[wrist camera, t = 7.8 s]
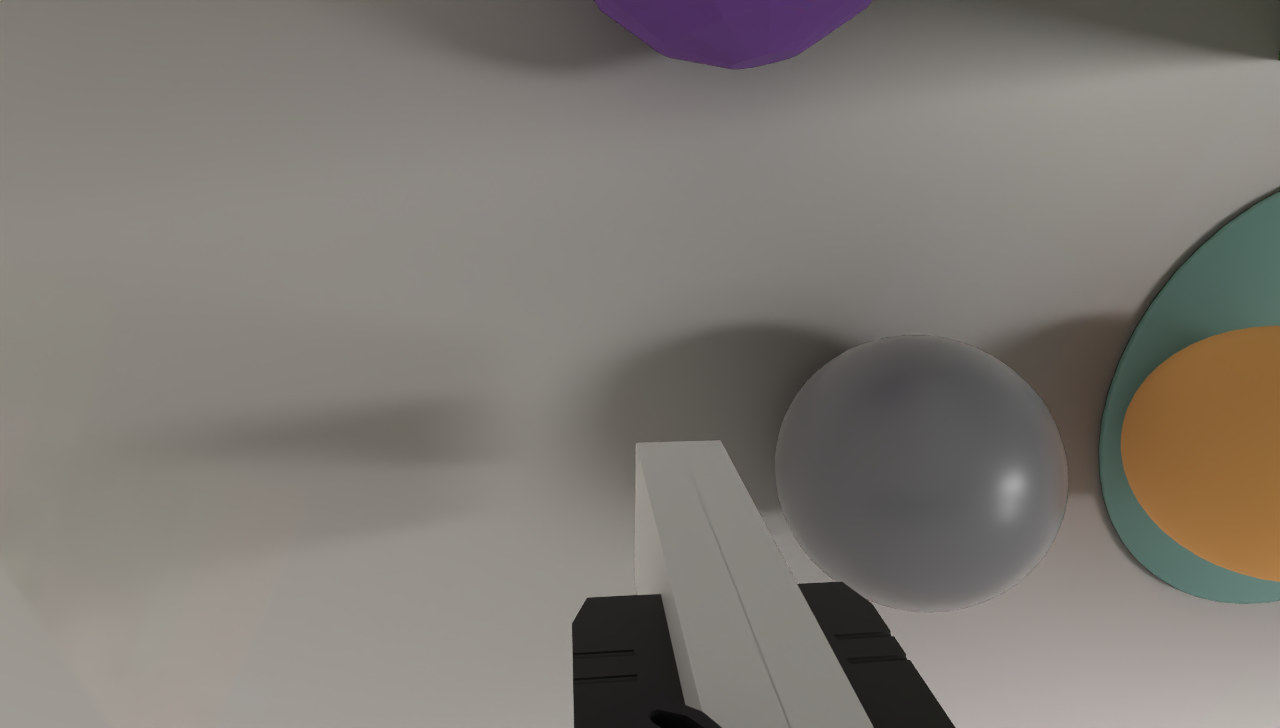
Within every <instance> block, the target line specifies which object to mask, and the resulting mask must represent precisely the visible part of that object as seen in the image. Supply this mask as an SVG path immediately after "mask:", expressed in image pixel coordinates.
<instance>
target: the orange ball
mask: <svg viewBox="0 0 1280 728" xmlns="http://www.w3.org/2000/svg"><path fill="white" fill-rule="evenodd" d="M1121 456H1122V462H1123V467H1124V471H1125V474H1126V477H1127V480H1128V482H1129V485H1130V487H1131V489H1132V491H1133V493H1134V495H1135V497H1136V499H1137V500H1138V502H1139V504H1140V505H1141V506H1142V508H1143V509H1144V510H1145V512H1146V513H1147V514H1148V516H1149V517H1150V518H1151V519H1152V520H1153V521H1154V522H1155V523H1156V524H1157V525H1158V527H1159V528H1160V529H1161V530H1162V531H1163V532H1165V533H1166V534H1167V535H1168V536H1170V537H1171V538H1172V539H1173V540H1175V541H1176V542H1177V543H1178V544H1180V545H1181V546H1183V547H1184V548H1186V549H1187V550H1189V551H1191V552H1192V553H1194V554H1195V555H1197V556H1199V557H1201V558H1203V559H1205V560H1207V561H1209V562H1211V563H1213V564H1215V565H1217V566H1220V567H1223V568H1225V569H1228V570H1231V571H1234V572H1237V573H1240V574H1243V575H1247V576H1251V577H1255V578H1259V579H1263V580H1270V581H1277V582H1280V326H1261V327H1251V328H1245V329H1239V330H1233V331H1228V332H1225V333H1221V334H1218V335H1214V336H1211V337H1208V338H1206V339H1203V340H1201V341H1198V342H1196V343H1194V344H1191V345H1189V346H1188V347H1186V348H1184V349H1182V350H1180V351H1179V352H1177V353H1175V354H1173V355H1172V356H1171V357H1169V358H1168V359H1167V360H1165V361H1164V362H1163V363H1161V364H1160V365H1159V366H1158V367H1157V368H1156V369H1155V370H1154V371H1153V372H1152V373H1151V374H1150V375H1149V376H1148V377H1147V378H1146V379H1145V380H1144V382H1143V383H1142V384H1141V386H1140V387H1139V388H1138V390H1137V391H1136V393H1135V394H1134V396H1133V398H1132V400H1131V402H1130V404H1129V406H1128V408H1127V411H1126V414H1125V417H1124V421H1123V426H1122V433H1121Z"/></svg>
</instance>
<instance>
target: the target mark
mask: <svg viewBox="0 0 1280 728" xmlns="http://www.w3.org/2000/svg"><path fill="white" fill-rule="evenodd" d="M1261 326H1280V191H1279V192H1277V193H1275V194H1273V195H1272V196H1270V197H1268V198H1266V199H1264V200H1262V201H1260V202H1259V203H1257V204H1255V205H1254V206H1252V207H1251V208H1249V209H1248V210H1246V211H1245V212H1243V213H1242V214H1241V215H1239V216H1238V217H1236V218H1235V219H1233V220H1232V221H1230V222H1229V223H1227V224H1226V225H1225V226H1224V227H1223V228H1221V229H1220V230H1219V231H1218V232H1217V233H1216V234H1214V235H1213V236H1212V237H1211V238H1210V239H1209V240H1207V241H1206V242H1205V243H1204V244H1203V245H1202V246H1200V247H1199V248H1198V249H1197V250H1196V251H1195V252H1194V254H1193V255H1192V256H1191V257H1190V258H1189V259H1188V260H1187V261H1186V262H1185V263H1184V264H1183V265H1182V266H1181V267H1180V268H1179V269H1178V270H1177V271H1176V272H1175V273H1174V275H1173V276H1172V277H1171V279H1170V280H1169V281H1168V282H1167V284H1166V285H1165V286H1164V288H1163V289H1162V290H1161V291H1160V293H1159V294H1158V295H1157V297H1156V298H1155V299H1154V300H1153V302H1152V303H1151V305H1150V307H1149V308H1148V310H1147V311H1146V313H1145V314H1144V316H1143V318H1142V319H1141V321H1140V322H1139V324H1138V326H1137V327H1136V329H1135V330H1134V332H1133V334H1132V336H1131V339H1130V341H1129V343H1128V345H1127V347H1126V349H1125V351H1124V353H1123V355H1122V357H1121V359H1120V361H1119V364H1118V367H1117V369H1116V372H1115V375H1114V378H1113V380H1112V383H1111V386H1110V389H1109V392H1108V396H1107V400H1106V405H1105V409H1104V413H1103V417H1102V424H1101V433H1100V442H1099V473H1100V480H1101V486H1102V492H1103V497H1104V501H1105V504H1106V507H1107V510H1108V513H1109V516H1110V519H1111V522H1112V524H1113V526H1114V527H1115V529H1116V531H1117V533H1118V535H1119V537H1120V538H1121V540H1122V542H1123V543H1124V545H1125V546H1126V547H1127V548H1128V550H1129V551H1130V552H1131V553H1132V555H1133V556H1134V557H1135V558H1136V559H1137V560H1138V561H1139V562H1140V563H1141V564H1142V565H1143V566H1144V567H1146V568H1147V569H1148V570H1149V571H1150V572H1151V573H1152V574H1154V575H1155V576H1157V577H1158V578H1160V579H1161V580H1163V581H1165V582H1166V583H1168V584H1170V585H1171V586H1173V587H1175V588H1176V589H1178V590H1181V591H1183V592H1186V593H1189V594H1191V595H1194V596H1196V597H1200V598H1204V599H1208V600H1213V601H1217V602H1226V603H1239V604H1249V603H1268V602H1273V601H1279V600H1280V582H1277V581H1270V580H1263V579H1259V578H1255V577H1251V576H1247V575H1243V574H1240V573H1237V572H1234V571H1231V570H1228V569H1225V568H1223V567H1220V566H1217V565H1215V564H1213V563H1211V562H1209V561H1207V560H1205V559H1203V558H1201V557H1199V556H1197V555H1195V554H1194V553H1192V552H1191V551H1189V550H1187V549H1186V548H1184V547H1183V546H1181V545H1180V544H1178V543H1177V542H1176V541H1175V540H1173V539H1172V538H1171V537H1170V536H1168V535H1167V534H1166V533H1165V532H1163V531H1162V530H1161V529H1160V528H1159V527H1158V525H1157V524H1156V523H1155V522H1154V521H1153V520H1152V519H1151V518H1150V517H1149V516H1148V514H1147V513H1146V512H1145V510H1144V509H1143V508H1142V506H1141V505H1140V504H1139V502H1138V500H1137V499H1136V497H1135V495H1134V493H1133V491H1132V489H1131V487H1130V485H1129V482H1128V480H1127V477H1126V474H1125V471H1124V467H1123V462H1122V456H1121V433H1122V426H1123V421H1124V417H1125V414H1126V411H1127V408H1128V406H1129V404H1130V402H1131V400H1132V398H1133V396H1134V394H1135V393H1136V391H1137V390H1138V388H1139V387H1140V386H1141V384H1142V383H1143V382H1144V380H1145V379H1146V378H1147V377H1148V376H1149V375H1150V374H1151V373H1152V372H1153V371H1154V370H1155V369H1156V368H1157V367H1158V366H1159V365H1160V364H1161V363H1163V362H1164V361H1165V360H1167V359H1168V358H1169V357H1171V356H1172V355H1173V354H1175V353H1177V352H1179V351H1180V350H1182V349H1184V348H1186V347H1188V346H1189V345H1191V344H1194V343H1196V342H1198V341H1201V340H1203V339H1206V338H1208V337H1211V336H1214V335H1218V334H1221V333H1225V332H1228V331H1233V330H1239V329H1245V328H1251V327H1261Z"/></svg>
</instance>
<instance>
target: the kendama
mask: <svg viewBox="0 0 1280 728" xmlns="http://www.w3.org/2000/svg"><path fill="white" fill-rule="evenodd" d="M594 1H595V2H596V4H597V6H598V7H599V9H600V10H601V11H602V12H603V13H605V14H606V15H608V16H609V17H610V18H612V19H613V20H614V21H616V22H617V23H619V24H620V25H621V26H623V27H624V28H625V29H627V30H628V31H630V32H631V33H632V34H634V35H635V36H636V37H638V38H639V39H641V40H642V41H643V42H645V43H646V44H648V45H649V46H650V47H652V48H653V49H654V50H656V51H657V52H659V53H660V54H662V55H665V56H667V57H669V58H674V59H680V60H685V61H691V62H696V63H701V64H707V65H712V66H717V67H723V68H728V69H744V68H751V67H757V66H762V65H766V64H771V63H775V62H778V61H782V60H785V59H789V58H791V57H794V56H796V55H798V54H800V53H802V52H803V51H804V50H806V49H807V48H809V47H810V46H812V45H813V44H815V43H816V42H818V41H819V40H821V39H822V38H823V37H825V36H826V35H828V34H829V33H831V32H832V31H834V30H835V29H837V28H838V27H840V26H841V25H842V24H844V23H845V22H847V21H848V20H850V19H851V18H853V17H854V16H856V15H857V14H859V13H860V12H861V11H863V10H864V9H866V8H867V7H868V6H869V4H870V3H871V1H872V0H594Z"/></svg>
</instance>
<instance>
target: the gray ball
mask: <svg viewBox="0 0 1280 728" xmlns="http://www.w3.org/2000/svg"><path fill="white" fill-rule="evenodd" d="M775 478H776V489H777V493H778V498H779V502H780V505H781V508H782V511H783V514H784V517H785V519H786V521H787V523H788V525H789V527H790V529H791V531H792V533H793V535H794V537H795V538H796V540H797V541H798V543H799V544H800V546H801V548H802V549H803V550H804V551H805V553H806V554H807V555H808V556H809V557H810V559H811V560H812V561H813V562H814V563H815V564H816V565H817V566H818V567H819V568H820V569H821V570H822V571H823V572H824V573H826V574H827V575H828V576H829V577H831V578H832V579H833V580H834V581H836V582H843V583H845V584H846V585H847V586H849V587H850V588H851V589H853V590H854V591H856V592H857V593H858V594H860V595H861V596H862V597H864V598H865V599H868V600H870V601H873V602H876V603H878V604H881V605H885V606H889V607H892V608H896V609H902V610H908V611H916V612H944V611H952V610H958V609H963V608H967V607H970V606H973V605H976V604H980V603H982V602H985V601H987V600H990V599H992V598H994V597H996V596H998V595H1000V594H1002V593H1004V592H1005V591H1007V590H1008V589H1010V588H1011V587H1013V586H1015V585H1016V584H1017V583H1018V582H1019V581H1021V580H1022V579H1023V578H1024V577H1025V576H1026V575H1027V574H1029V573H1030V572H1031V571H1032V570H1033V569H1034V568H1035V567H1036V565H1037V564H1038V563H1039V562H1040V561H1041V559H1042V558H1043V557H1044V556H1045V555H1046V553H1047V551H1048V549H1049V548H1050V546H1051V544H1052V543H1053V541H1054V539H1055V537H1056V535H1057V533H1058V530H1059V528H1060V525H1061V522H1062V520H1063V517H1064V513H1065V508H1066V503H1067V497H1068V466H1067V458H1066V453H1065V449H1064V446H1063V443H1062V440H1061V436H1060V433H1059V430H1058V428H1057V426H1056V424H1055V422H1054V420H1053V418H1052V415H1051V413H1050V412H1049V410H1048V409H1047V407H1046V406H1045V404H1044V403H1043V401H1042V400H1041V398H1040V397H1039V396H1038V394H1037V393H1036V392H1035V391H1034V390H1033V389H1032V388H1031V387H1030V385H1029V384H1028V383H1027V382H1026V381H1025V380H1024V379H1023V378H1021V377H1020V376H1019V375H1018V374H1017V373H1016V372H1015V371H1013V370H1012V369H1011V368H1010V367H1009V366H1007V365H1006V364H1004V363H1003V362H1001V361H1000V360H998V359H997V358H995V357H994V356H992V355H990V354H988V353H986V352H984V351H982V350H980V349H978V348H976V347H973V346H970V345H967V344H965V343H962V342H959V341H955V340H951V339H947V338H942V337H935V336H926V335H902V336H894V337H886V338H881V339H878V340H874V341H870V342H866V343H863V344H861V345H858V346H856V347H853V348H851V349H849V350H847V351H845V352H843V353H842V354H840V355H838V356H836V357H835V358H833V359H832V360H831V361H829V362H828V363H827V364H825V365H824V366H823V367H821V368H820V369H819V370H817V371H816V372H815V373H814V374H813V375H812V376H811V377H810V378H809V379H808V380H807V381H806V383H805V384H804V385H803V387H802V388H801V389H800V391H799V392H798V393H797V395H796V396H795V398H794V399H793V401H792V403H791V405H790V406H789V408H788V410H787V412H786V414H785V417H784V419H783V422H782V425H781V428H780V431H779V435H778V440H777V445H776V450H775Z"/></svg>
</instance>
